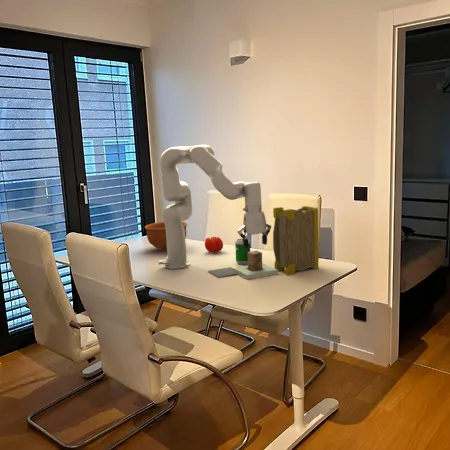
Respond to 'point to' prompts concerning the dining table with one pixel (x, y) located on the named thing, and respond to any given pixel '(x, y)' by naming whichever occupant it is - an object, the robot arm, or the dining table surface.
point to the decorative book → (295, 239)
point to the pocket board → (249, 274)
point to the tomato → (213, 244)
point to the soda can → (241, 252)
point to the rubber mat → (223, 272)
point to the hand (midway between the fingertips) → (255, 245)
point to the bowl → (159, 234)
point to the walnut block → (254, 261)
